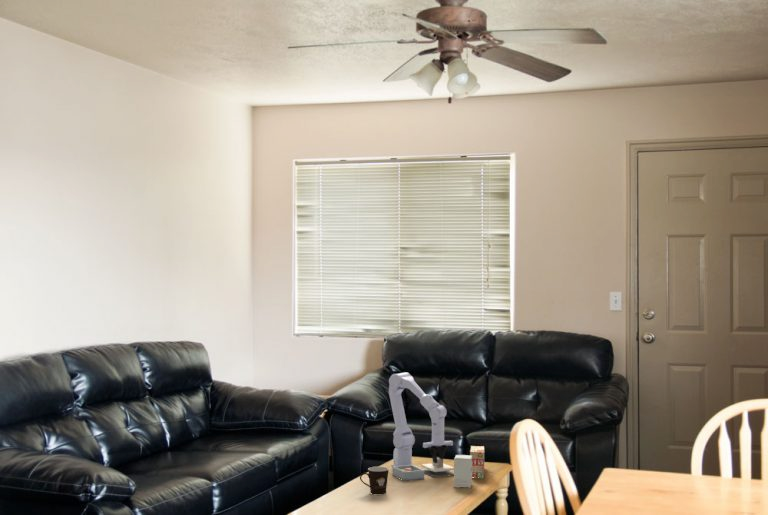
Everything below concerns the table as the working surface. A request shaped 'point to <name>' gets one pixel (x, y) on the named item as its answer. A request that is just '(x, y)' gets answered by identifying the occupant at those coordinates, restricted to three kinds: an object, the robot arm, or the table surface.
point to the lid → (438, 466)
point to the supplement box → (462, 471)
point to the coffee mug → (377, 479)
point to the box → (408, 472)
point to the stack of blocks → (477, 461)
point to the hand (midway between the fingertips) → (437, 462)
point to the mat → (437, 473)
